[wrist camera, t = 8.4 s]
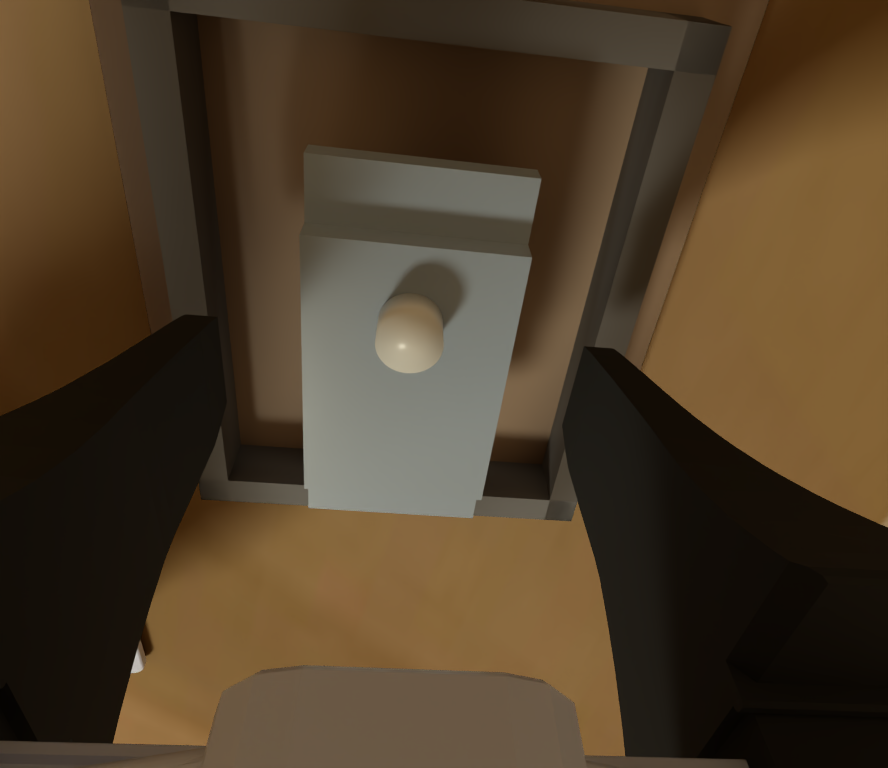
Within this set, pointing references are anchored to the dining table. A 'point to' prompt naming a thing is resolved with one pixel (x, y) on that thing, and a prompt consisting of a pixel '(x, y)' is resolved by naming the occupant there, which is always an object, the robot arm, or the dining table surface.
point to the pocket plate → (423, 135)
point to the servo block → (407, 325)
